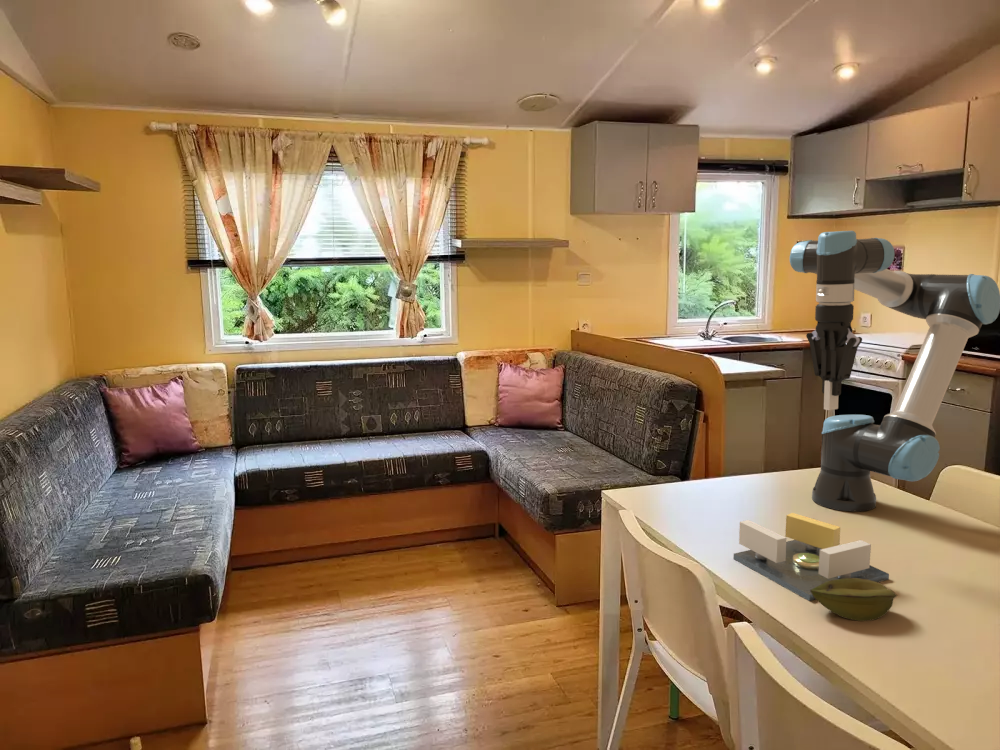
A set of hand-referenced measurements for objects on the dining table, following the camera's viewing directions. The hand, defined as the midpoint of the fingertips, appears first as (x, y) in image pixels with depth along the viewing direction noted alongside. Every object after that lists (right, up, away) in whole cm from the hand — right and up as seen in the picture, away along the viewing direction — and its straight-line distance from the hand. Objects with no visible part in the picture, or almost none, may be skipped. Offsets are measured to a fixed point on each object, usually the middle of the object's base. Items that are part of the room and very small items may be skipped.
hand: (830, 408), depth 158 cm
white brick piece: (-6, -33, -18) cm, 37 cm away
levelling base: (-10, -33, -10) cm, 36 cm away
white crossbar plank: (-18, -31, -8) cm, 37 cm away
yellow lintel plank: (-6, -30, -4) cm, 31 cm away
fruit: (-9, -36, -28) cm, 47 cm away
